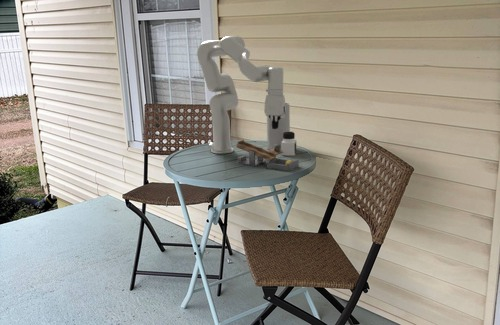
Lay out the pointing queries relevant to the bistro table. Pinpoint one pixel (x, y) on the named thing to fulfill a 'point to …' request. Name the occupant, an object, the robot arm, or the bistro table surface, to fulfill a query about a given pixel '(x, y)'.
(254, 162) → the stand
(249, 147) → the lever
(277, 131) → the cylinder vase
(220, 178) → the bistro table surface
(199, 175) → the bistro table surface
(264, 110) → the robot arm
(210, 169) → the bistro table surface
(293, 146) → the medicine bottle
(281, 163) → the tray
